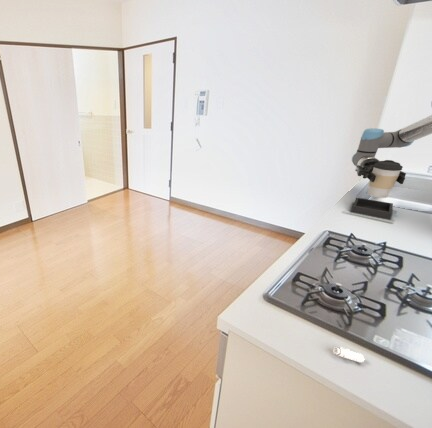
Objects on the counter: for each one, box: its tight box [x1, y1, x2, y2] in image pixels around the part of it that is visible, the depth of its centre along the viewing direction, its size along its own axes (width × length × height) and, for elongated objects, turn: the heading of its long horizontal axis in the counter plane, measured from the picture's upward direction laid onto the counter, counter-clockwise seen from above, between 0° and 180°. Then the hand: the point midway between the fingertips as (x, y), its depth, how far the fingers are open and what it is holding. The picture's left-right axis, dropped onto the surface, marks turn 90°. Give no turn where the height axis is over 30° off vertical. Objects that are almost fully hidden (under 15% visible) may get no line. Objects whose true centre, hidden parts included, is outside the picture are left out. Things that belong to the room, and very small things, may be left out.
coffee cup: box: [366, 159, 404, 199], centre depth 121 cm, size 9×9×15 cm
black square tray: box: [350, 196, 394, 220], centre depth 127 cm, size 13×13×3 cm
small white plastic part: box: [332, 346, 366, 363], centre depth 62 cm, size 4×6×3 cm, turn 49°
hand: (388, 179), depth 116 cm, fingers closed on coffee cup, 9 cm apart
